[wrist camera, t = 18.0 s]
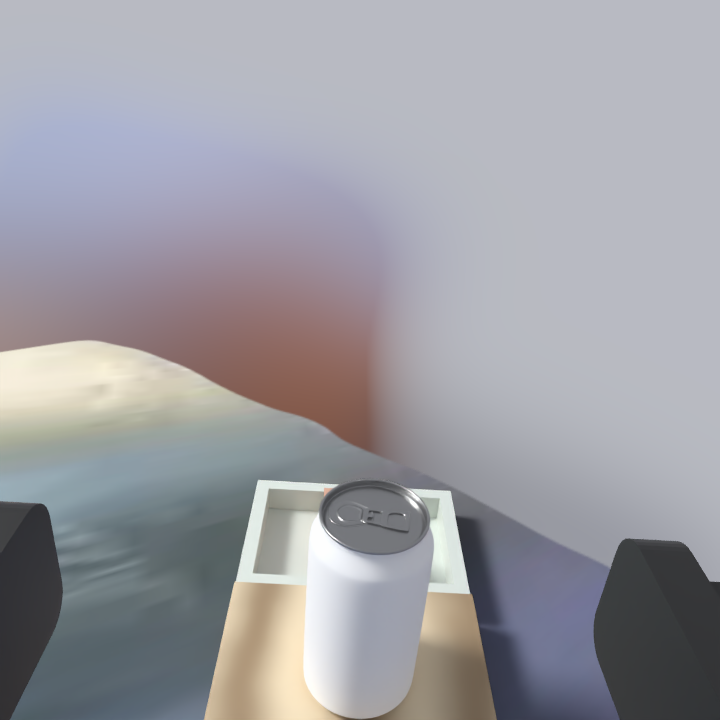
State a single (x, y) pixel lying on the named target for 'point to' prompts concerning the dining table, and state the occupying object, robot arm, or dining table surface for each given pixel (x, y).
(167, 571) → the dining table surface
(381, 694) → the can
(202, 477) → the dining table surface
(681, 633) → the robot arm
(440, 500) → the tray
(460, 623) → the board
